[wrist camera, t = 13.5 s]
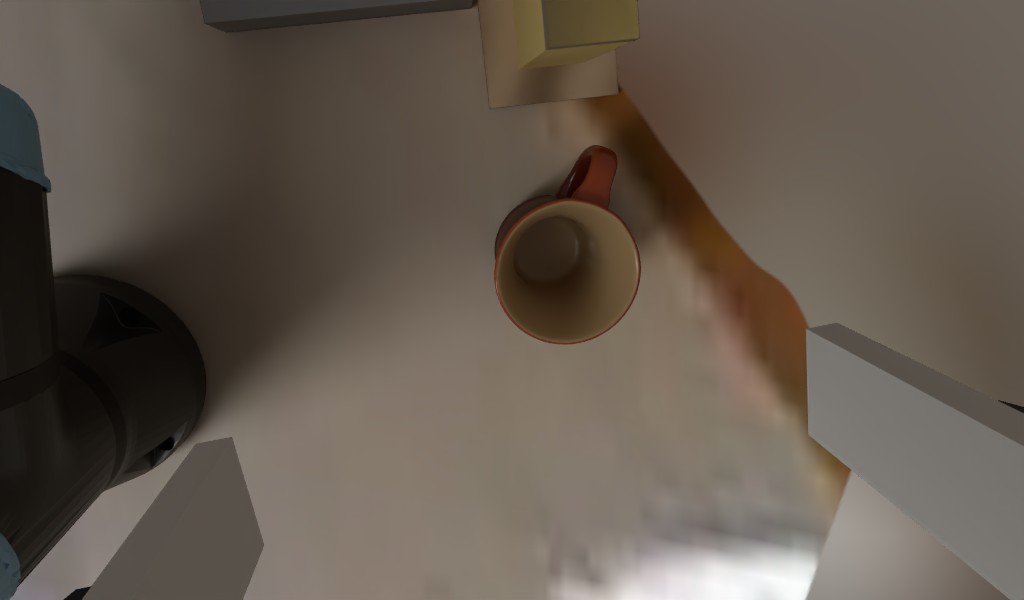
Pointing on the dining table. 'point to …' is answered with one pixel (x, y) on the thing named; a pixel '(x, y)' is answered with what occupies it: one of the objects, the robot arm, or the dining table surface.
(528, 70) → the pad
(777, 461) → the dining table surface
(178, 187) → the dining table surface
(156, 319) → the robot arm
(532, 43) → the plug
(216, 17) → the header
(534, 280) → the mug
